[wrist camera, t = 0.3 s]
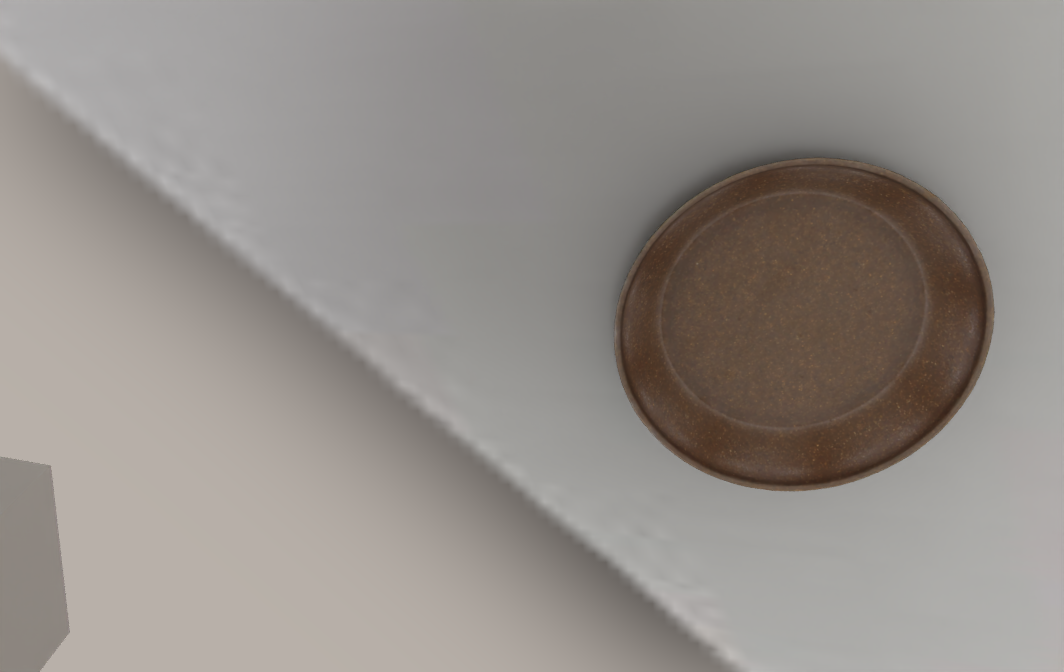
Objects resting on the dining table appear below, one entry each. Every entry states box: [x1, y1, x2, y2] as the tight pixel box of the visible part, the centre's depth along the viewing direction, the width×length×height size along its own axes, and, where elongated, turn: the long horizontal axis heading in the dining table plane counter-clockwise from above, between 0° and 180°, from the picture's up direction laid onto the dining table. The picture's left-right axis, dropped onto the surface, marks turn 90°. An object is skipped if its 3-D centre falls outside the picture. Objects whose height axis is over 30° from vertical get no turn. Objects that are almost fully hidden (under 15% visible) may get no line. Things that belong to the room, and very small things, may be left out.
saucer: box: [614, 158, 994, 491], centre depth 38 cm, size 15×15×3 cm
